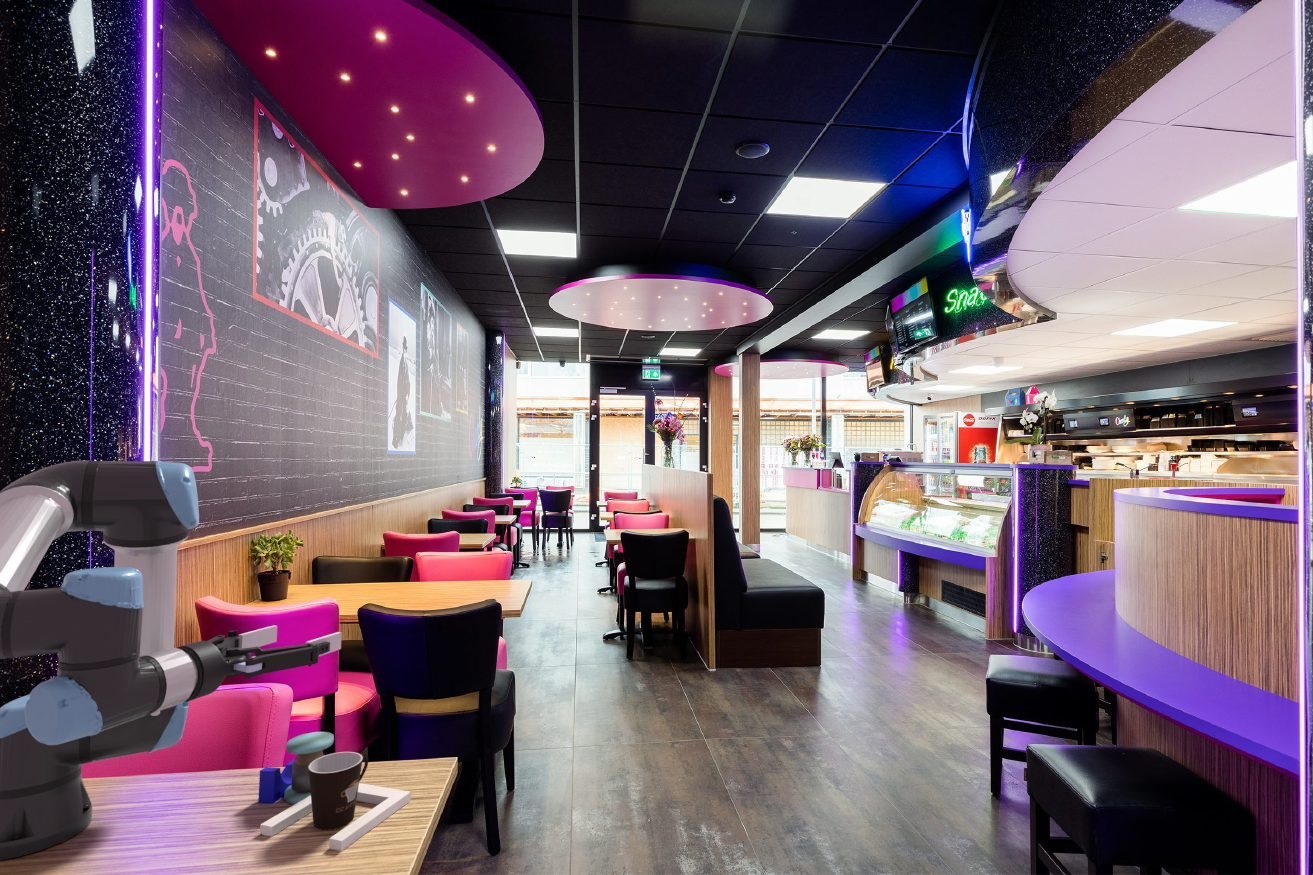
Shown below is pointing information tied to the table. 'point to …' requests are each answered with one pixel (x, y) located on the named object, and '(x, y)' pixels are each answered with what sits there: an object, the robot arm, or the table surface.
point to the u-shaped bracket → (386, 806)
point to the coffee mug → (335, 788)
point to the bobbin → (304, 762)
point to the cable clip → (274, 783)
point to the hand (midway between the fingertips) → (306, 636)
